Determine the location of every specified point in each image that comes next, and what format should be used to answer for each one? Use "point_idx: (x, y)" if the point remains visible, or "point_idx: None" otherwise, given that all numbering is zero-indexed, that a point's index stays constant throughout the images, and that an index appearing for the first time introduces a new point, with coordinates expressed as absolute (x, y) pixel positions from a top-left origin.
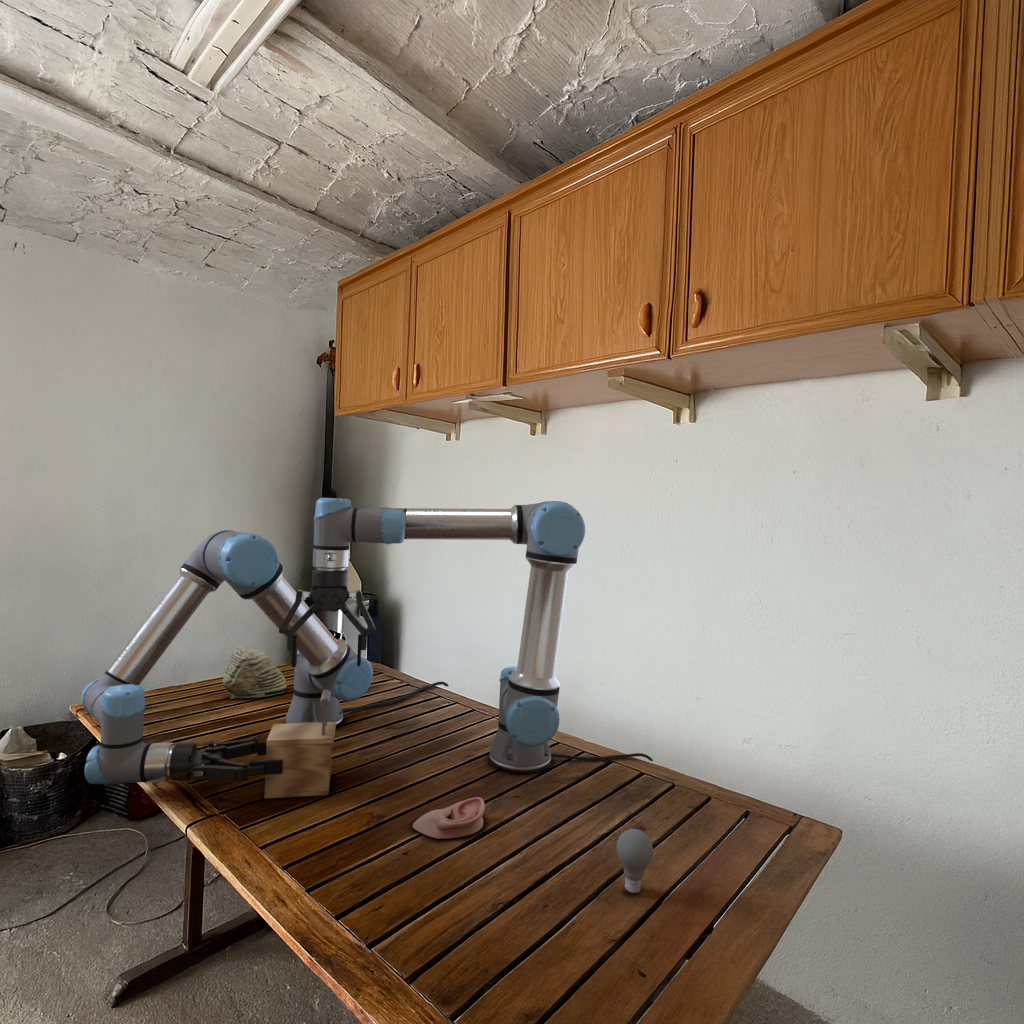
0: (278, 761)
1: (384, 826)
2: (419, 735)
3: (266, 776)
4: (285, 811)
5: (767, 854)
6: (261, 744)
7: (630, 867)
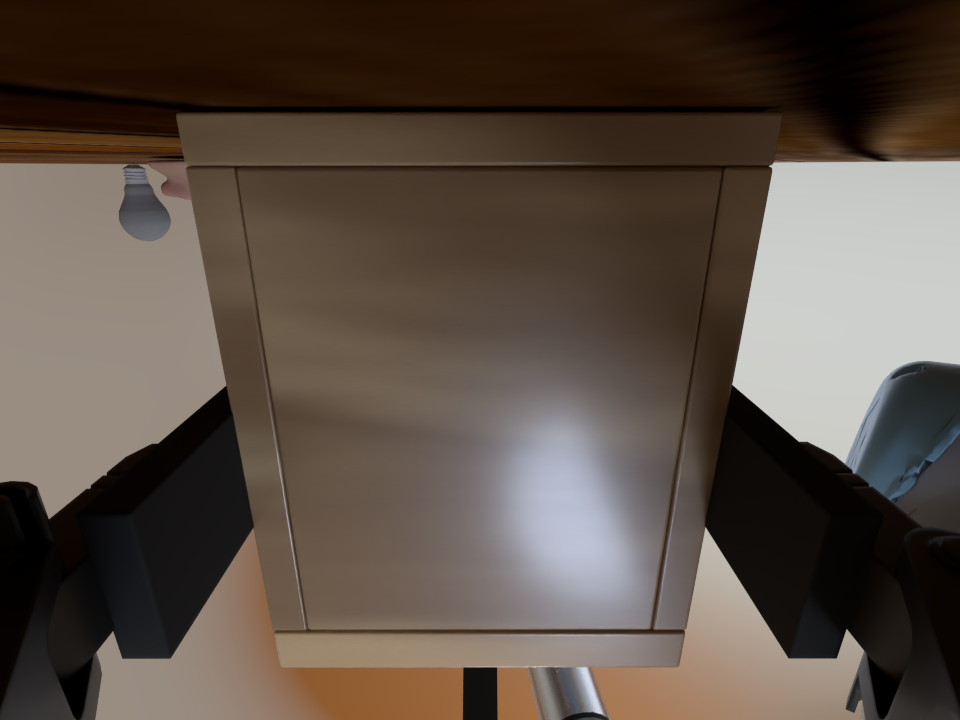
0: None
1: (157, 153)
2: (818, 157)
3: (232, 374)
4: (42, 129)
5: None
6: (767, 600)
7: (121, 205)
